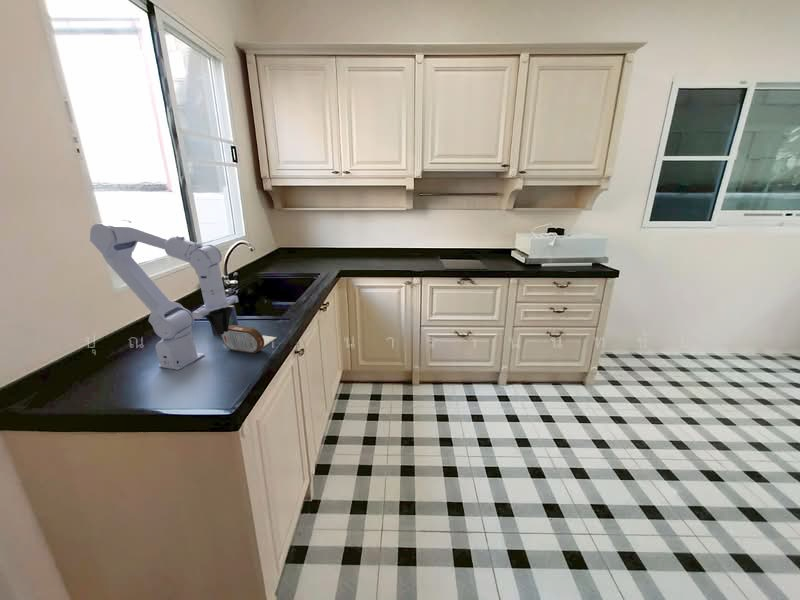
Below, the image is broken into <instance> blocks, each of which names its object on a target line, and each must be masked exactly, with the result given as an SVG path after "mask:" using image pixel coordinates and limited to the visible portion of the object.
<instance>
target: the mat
mask: <svg viewBox="0 0 800 600" xmlns="http://www.w3.org/2000/svg"><path fill="white" fill-rule="evenodd" d="M261 335H262V336H263V339H264V346H263V348H264V347H265V346H267V345H268V344H271V343H272V342H273V341H275V340H276V339H277V337H276V336H268V335H263V334H261Z"/></svg>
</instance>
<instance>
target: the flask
mask: <svg viewBox="0 0 800 600" xmlns="http://www.w3.org/2000/svg"><path fill="white" fill-rule="evenodd" d="M228 307H232V312H231V315H230V319H229V325H237V326H240V325H239V321H238V316H237V312H236V307H235V305H233V304H230V305H229V306H228ZM210 327H211V332H212V335H213V336H221V334H217V332H216V331H215V329H214V327H213V326H212V324H211V323H210Z"/></svg>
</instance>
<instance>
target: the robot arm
mask: <svg viewBox="0 0 800 600" xmlns="http://www.w3.org/2000/svg"><path fill="white" fill-rule="evenodd" d="M89 231H90V233H89V241H90V242H91V243H92V245H93V246H94V247H95V248H96V249H98V251H99V252H100V253H101V255H102V257H103V259H104V261H106V263H107V265H109V267H110V268H111V269H112V270H113V271H114V272H115V274H116V275H118V277H119V278H120V279H121V280H122V281H123V282H124V283H125V284H126V285H127V287H128V288H129V289H130V290H131V291H132V292H133V293H134V294H135V295H136V296H137V298H138V299H139V301H141V302H142V304H144V305H145V307H146V308H147V309H148V310H149V311H150V315H149V317H148V323H150V325H151V326H152V328H153V331H154V333H155V334H156V335H157V336H158V337H160V338H161V339H160V341H158V342H157V343H156V344H155V346H154V348H155V352H156V355H157V359H158V361H159V365H158V367H159V368H165V369H171V370H174V371H175V370H177V371H178V370H181V369H183V368H184V367H186V366H188V365H190V364H192V363H193V362H195V361H197V360H199V359H201V358H203V357H204V356H205V353H202V352H198V351H197V349H196V344H195V341H194V336H193V332H192V329H193V327H192V325H193V324H194V323H195V320H200V319H202V318H203V317H204V318H205V319H206V320H207V321H208V322H209V324H210V325H211V324H212V326H213V327H214V329H215V331H216V332H217V334H224V332H228V327H229V319H230V315H231V312H232V307H228V306H231V305H233V304H236V303H239V297H238V295H230V296H227V295H226V291H225V287H224V286H225V285H224V281H223V275H222V273H221V267H220V263H221V261H222V258H223V256H222V253H221V251H220V249H219V248H217V247H216V246H214V245H213V244H207V245H202V243H201V242H198V241H197V242H194V241H191V240H188V239H185V236H183V235H177V236H176V235H174V236H173V235H172V236H171V237H168V236H166V235H163V234H160V233H158V232H156V231H154V230H152V229H149V228H146V227H145V226H142V225H141V224H140V222H139V223H138V222H135V221H132V220H128V219H123V220H120V221H111V222H105V223H95V224H93V225H92V226H91V228H90V230H89ZM138 242H139V243H142V244H145V245H148V246H151V247H156V248H159V249H162V250H164V252H165V253H166V255H167V256H170V257H172V258H175V259H178V260H180V261H183V262H187V263H189V265H190V266H191V267H192V268H193V269H194V271H195V274H196V275H197V277H198V278H197V279H198V281H199V282H198V283H199V286H200V290H201V294H202V299H203V303H204V304H203V305H201V306H200V307H199V308H197V309H196V310H194V311H190V310H189V309H187V308H185V307H184V306H183V305H182V304H181V303H180V302H176V301H172V300H170V299H169V298H168V297H167V296H166V295H165V293H163V292H162V290H161V289H160V288H159V286H158V285H156V283H155V282H154V281H153V280H152V279H151V277H149V274H148V275H147V273H146V272H145V271H144V270H143V268H141V266H140V265H139V264H138V263H137V262H136V260H135V259H134V258H133V257H132V255H133V252H134V251H135V249H136V246H137V244H138Z"/></svg>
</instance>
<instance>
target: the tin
mask: <svg viewBox="0 0 800 600" xmlns="http://www.w3.org/2000/svg"><path fill="white" fill-rule="evenodd" d="M262 335H263V334H262V333H261V332H260V331H259V330H258V329H257V328H254V327H250V326H242V325H239V326H237V325H229V327H228V332H224V334H221V335H220V337H221V340H222V343H223V344H224V346H226V348H227V349H229V350H231V351H234V352H241V353H242V352H243V353H248V354H256V353H257V352H259V351H260V350H262V349H263V348H264V347H265V346H264V339H263V336H264V335H263V336H262ZM263 346H264V347H263Z"/></svg>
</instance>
